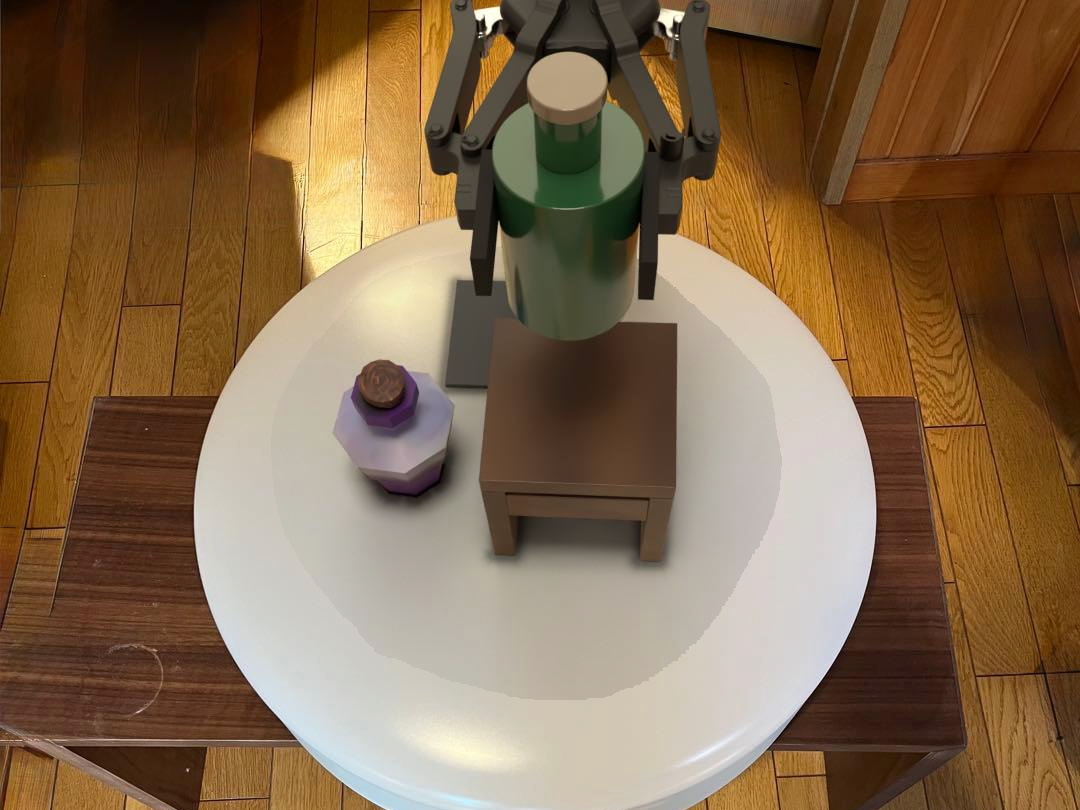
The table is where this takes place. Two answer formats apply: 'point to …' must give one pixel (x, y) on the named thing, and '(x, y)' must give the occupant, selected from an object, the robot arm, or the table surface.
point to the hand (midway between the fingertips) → (563, 279)
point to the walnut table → (581, 429)
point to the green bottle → (569, 201)
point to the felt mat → (474, 333)
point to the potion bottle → (396, 427)
